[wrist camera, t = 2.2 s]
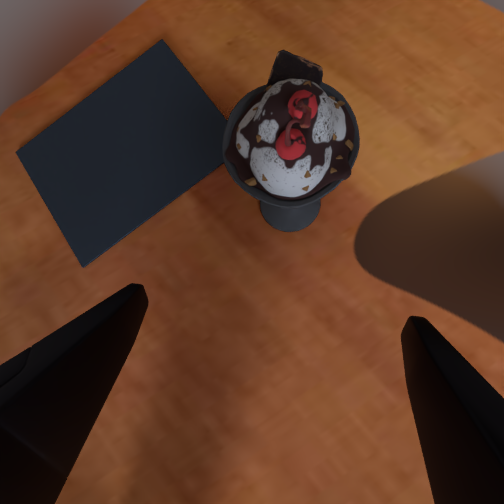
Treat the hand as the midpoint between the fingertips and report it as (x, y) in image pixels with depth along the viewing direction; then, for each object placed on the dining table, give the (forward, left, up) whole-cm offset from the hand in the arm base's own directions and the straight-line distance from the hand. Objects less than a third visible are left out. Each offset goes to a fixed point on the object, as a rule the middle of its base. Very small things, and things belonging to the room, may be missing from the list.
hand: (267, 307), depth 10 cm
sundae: (+6, -5, -14) cm, 16 cm away
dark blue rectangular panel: (+19, +4, -13) cm, 24 cm away
